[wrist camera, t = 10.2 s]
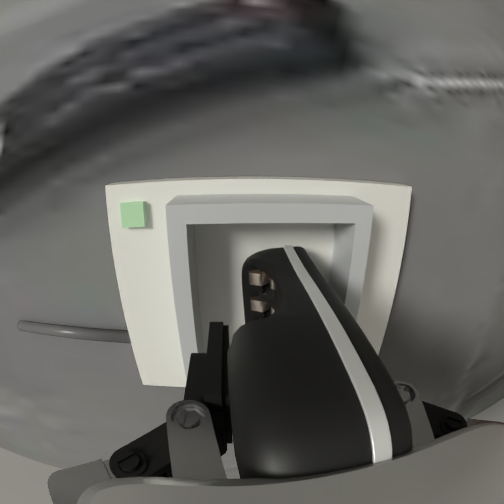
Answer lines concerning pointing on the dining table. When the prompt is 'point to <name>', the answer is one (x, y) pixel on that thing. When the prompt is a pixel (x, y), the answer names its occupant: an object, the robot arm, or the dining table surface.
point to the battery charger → (306, 377)
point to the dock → (239, 256)
